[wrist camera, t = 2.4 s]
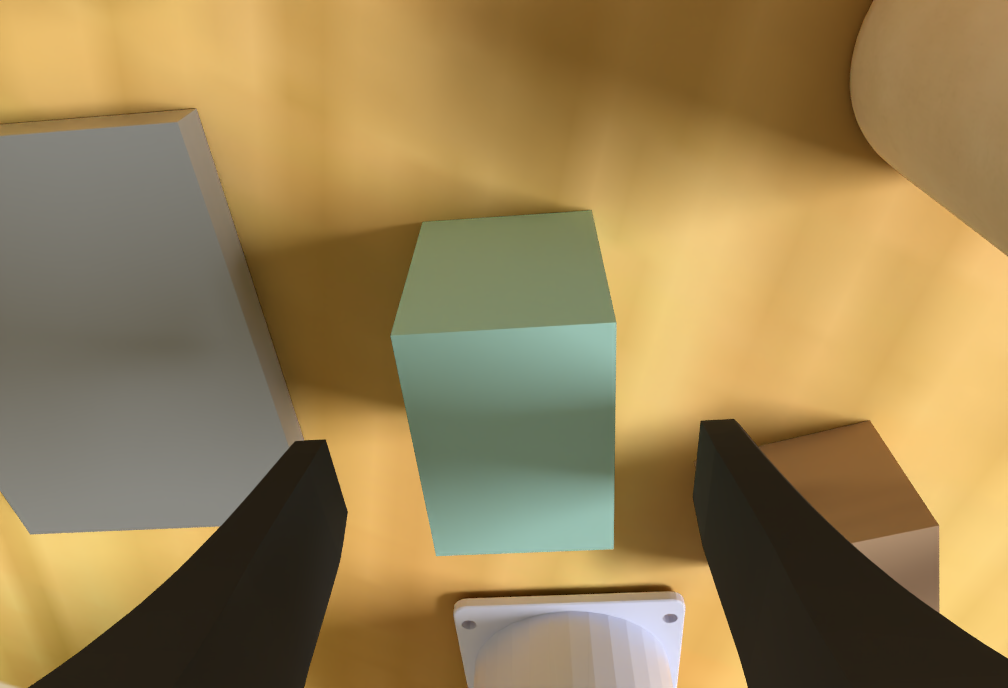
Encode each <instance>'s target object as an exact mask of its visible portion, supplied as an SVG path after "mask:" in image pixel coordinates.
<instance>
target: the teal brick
mask: <svg viewBox="0 0 1008 688" xmlns="http://www.w3.org/2000/svg"><path fill="white" fill-rule="evenodd" d="M390 336H391V341H392V346H393V351H394V355H395V360H396V365H397V370H398V375H399V379H400V384H401V389H402V394H403V399H404V404H405V408H406V413H407V418H408V423H409V428H410V432H411V437H412V442H413V447H414V452H415V456H416V461H417V466H418V471H419V476H420V480H421V485H422V490H423V495H424V500H425V504H426V509H427V514H428V519H429V524H430V528H431V533H432V538H433V543H434V548H435V552H436V556H450V555H476V554H501V553H527V552H553V551H579V550H605V549H614V476H615V392H616V319H615V314H614V310H613V305H612V300H611V296H610V291H609V287H608V282H607V278H606V273H605V269H604V264H603V260H602V255H601V251H600V246H599V241H598V237H597V232H596V228H595V223H594V219H593V214H592V210H587V211H573V212H558V213H544V214H529V215H515V216H500V217H486V218H471V219H457V220H442V221H428V222H422V226H421V229H420V233H419V236H418V240H417V243H416V247H415V250H414V254H413V257H412V261H411V265H410V268H409V272H408V275H407V279H406V282H405V286H404V289H403V293H402V296H401V300H400V303H399V307H398V311H397V314H396V318H395V321H394V325H393V328H392V332H391V335H390Z"/></svg>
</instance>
